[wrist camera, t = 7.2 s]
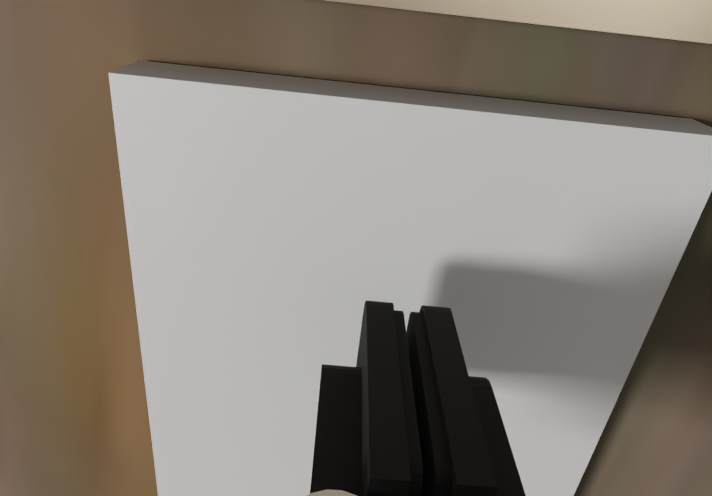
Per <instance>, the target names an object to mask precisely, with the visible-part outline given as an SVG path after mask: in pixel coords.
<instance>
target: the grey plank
mask: <svg viewBox="0 0 712 496" xmlns="http://www.w3.org/2000/svg"><path fill="white" fill-rule="evenodd" d="M108 74H109V82H110V91H111V99H112V108H113V116H114V125H115V133H116V142H117V150H118V159H119V167H120V176H121V184H122V193H123V201H124V210H125V218H126V227H127V235H128V244H129V252H130V261H131V269H132V278H133V286H134V294H135V303H136V311H137V320H138V328H139V337H140V345H141V354H142V362H143V371H144V379H145V388H146V396H147V405H148V413H149V422H150V430H151V439H152V447H153V456H154V464H155V473H156V481H157V490H158V496H307V495H309V494H310V489H311V478H312V467H313V456H314V445H315V434H316V423H317V412H318V401H319V390H320V379H321V368H322V364H324V365H336V366H349V367H356V364H357V356H358V349H359V341H360V334H361V326H362V319H363V311H364V304H365V301H378V302H389V303H393V305H394V310H397V311H403V313H404V320H405V328H406V331H407V326H408V320H409V315H410V313H411V312H419V311H420V308H421V306H422V305H424V306H436V307H447V308H450V309H451V311H452V315H453V318H454V322H455V326H456V330H457V334H458V337H459V341H460V345H461V349H462V353H463V356H464V360H465V364H466V368H467V372H468V375H469V376H473V377H485V378H487V379H488V380H489V381H490V384H491V386H492V389H493V392H494V395H495V399H496V402H497V405H498V408H499V411H500V415H501V418H502V421H503V424H504V427H505V431H506V434H507V437H508V440H509V444H510V447H511V450H512V453H513V456H514V460H515V463H516V466H517V469H518V472H519V476H520V479H521V482H522V485H523V489H524V492H525V495H526V496H574V494H575V491H576V489H577V487H578V485H579V483H580V480H581V478H582V476H583V474H584V472H585V469H586V467H587V465H588V463H589V461H590V458H591V456H592V454H593V452H594V450H595V447H596V445H597V443H598V441H599V438H600V436H601V434H602V432H603V430H604V427H605V425H606V423H607V421H608V419H609V416H610V414H611V412H612V410H613V408H614V405H615V403H616V401H617V399H618V397H619V394H620V392H621V390H622V388H623V386H624V383H625V381H626V379H627V377H628V374H629V372H630V370H631V368H632V366H633V363H634V361H635V359H636V357H637V355H638V352H639V350H640V348H641V346H642V344H643V341H644V339H645V337H646V335H647V333H648V330H649V328H650V326H651V324H652V322H653V319H654V317H655V315H656V313H657V310H658V308H659V306H660V304H661V302H662V299H663V297H664V295H665V293H666V291H667V288H668V286H669V284H670V282H671V280H672V277H673V275H674V273H675V271H676V269H677V266H678V264H679V262H680V260H681V258H682V255H683V253H684V251H685V249H686V246H687V244H688V242H689V240H690V238H691V235H692V233H693V231H694V229H695V227H696V224H697V222H698V220H699V218H700V216H701V213H702V211H703V209H704V207H705V205H706V202H707V200H708V198H709V196H710V194H711V191H712V127H709V126H707V125H705V124H703V123H700V122H698V121H696V120H694V119H689V118H680V117H670V116H661V115H652V114H642V113H633V112H623V111H614V110H604V109H595V108H585V107H576V106H566V105H557V104H547V103H538V102H528V101H519V100H510V99H500V98H491V97H481V96H472V95H462V94H453V93H443V92H434V91H424V90H415V89H405V88H396V87H387V86H377V85H368V84H358V83H349V82H339V81H330V80H320V79H311V78H301V77H292V76H282V75H273V74H263V73H254V72H245V71H235V70H226V69H216V68H207V67H197V66H188V65H178V64H169V63H159V62H150V61H140V60H138V61H136V62H133V63H131V64H129V65H126V66H124V67H121V68H119V69H116V70H114V71H111V72H109V73H108Z"/></svg>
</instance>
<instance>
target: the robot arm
mask: <svg viewBox="0 0 712 496" xmlns="http://www.w3.org/2000/svg"><path fill="white" fill-rule="evenodd" d="M307 496H526V495H525V492H524V489H523V485H522V482H521V479H520V476H519V472H518V469H517V466H516V463H515V460H514V456H513V453H512V450H511V447H510V444H509V440H508V437H507V434H506V431H505V427H504V424H503V421H502V418H501V415H500V411H499V408H498V405H497V402H496V399H495V395H494V392H493V389H492V386H491V384H490V381H489V380H488V379H487V378H485V377H473V376H469V375H468V372H467V368H466V364H465V360H464V356H463V353H462V349H461V345H460V341H459V337H458V334H457V330H456V326H455V322H454V318H453V315H452V311H451V309H450V308H447V307H436V306H424V305H422V306H421V308H420V311H419V312H411V313H410V315H409V320H408V326H407V331H406V328H405V320H404V313H403V311H397V310H394V305H393V303H389V302H378V301H365V304H364V311H363V319H362V326H361V334H360V341H359V349H358V356H357V364H356V367H349V366H336V365H324V364H322V368H321V379H320V390H319V401H318V412H317V423H316V434H315V445H314V456H313V467H312V478H311V489H310V494H309V495H307Z"/></svg>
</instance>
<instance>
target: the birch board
mask: <svg viewBox="0 0 712 496" xmlns="http://www.w3.org/2000/svg"><path fill="white" fill-rule="evenodd" d="M326 1H335V2H343V3H352V4H361V5H370V6H379V7H388V8H397V9H406V10H415V11H424V12H433V13H442V14H450V15H459V16H468V17H477V18H486V19H495V20H504V21H513V22H522V23H531V24H540V25H549V26H557V27H566V28H575V29H584V30H593V31H602V32H611V33H620V34H629V35H638V36H647V37H656V38H664V39H673V40H682V41H691V42H700V43H709V44H712V0H326Z"/></svg>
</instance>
